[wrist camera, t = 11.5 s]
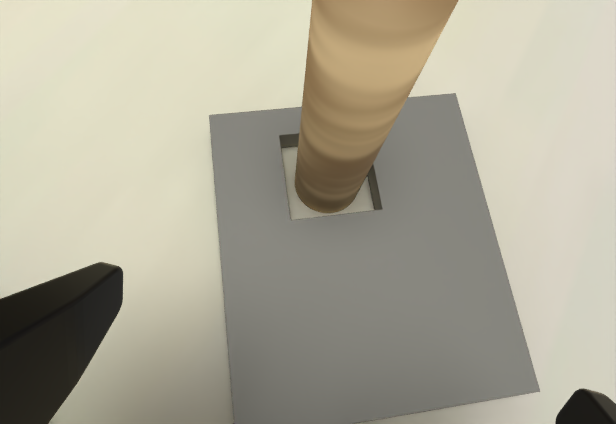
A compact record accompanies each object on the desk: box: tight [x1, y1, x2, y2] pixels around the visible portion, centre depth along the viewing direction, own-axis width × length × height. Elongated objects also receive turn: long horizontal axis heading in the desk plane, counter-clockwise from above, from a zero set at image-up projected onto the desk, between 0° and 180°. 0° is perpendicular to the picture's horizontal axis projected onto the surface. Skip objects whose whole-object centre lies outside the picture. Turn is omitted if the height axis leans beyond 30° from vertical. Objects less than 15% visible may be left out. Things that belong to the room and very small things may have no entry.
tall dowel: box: [295, 0, 458, 213], centre depth 17 cm, size 4×4×14 cm
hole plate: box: [209, 93, 540, 424], centre depth 21 cm, size 16×14×2 cm
